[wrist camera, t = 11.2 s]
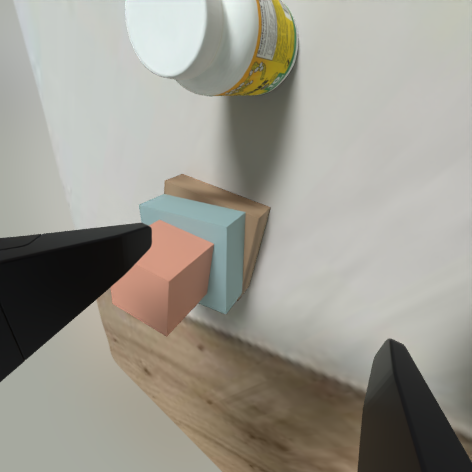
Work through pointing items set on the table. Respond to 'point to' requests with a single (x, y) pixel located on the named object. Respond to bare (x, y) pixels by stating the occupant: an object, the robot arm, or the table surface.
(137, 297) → the brick cube
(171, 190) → the tower base
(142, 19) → the supplement bottle
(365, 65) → the table surface
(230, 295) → the tower top
